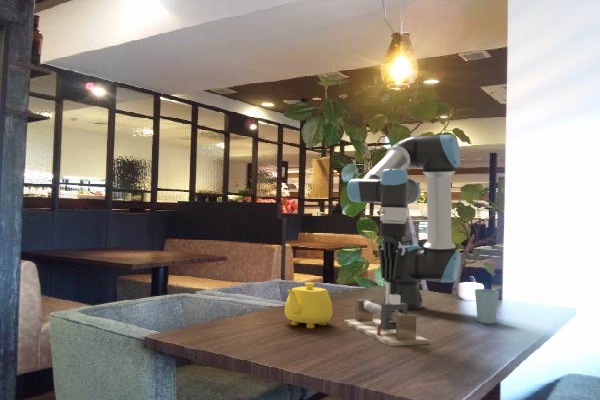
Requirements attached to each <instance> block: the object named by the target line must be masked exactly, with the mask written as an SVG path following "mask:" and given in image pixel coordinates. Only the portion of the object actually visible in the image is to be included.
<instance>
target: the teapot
mask: <svg viewBox="0 0 600 400" xmlns="http://www.w3.org/2000/svg"><path fill="white" fill-rule="evenodd" d="M304 285H305V286H297V287H293V288H291V289H287V291H288V297H287V299H286V303H285V306H284V315H285V317H286V318H287V320H289V321H290V323H289V324H290V325H291V326H298V325H299V324H300V323H303V324H304V323H305V324H306V327H305V328H306V329H315V324H317V325H319V326H326V325H327V323H326V322H328V321H330V319H331V318H332V317H333V313H334V312H333V305H332V300H331V297H330V294H329V292H328V290H327V289H326V288H322V287H317V286H315V283H314V282H305V283H304ZM314 286H315V287H314Z"/></svg>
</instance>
